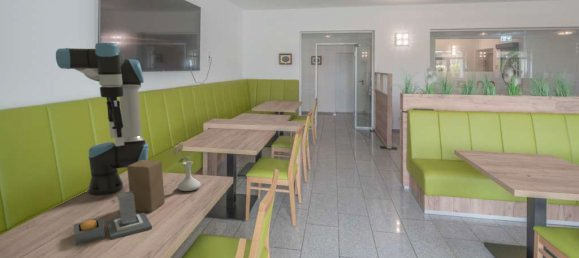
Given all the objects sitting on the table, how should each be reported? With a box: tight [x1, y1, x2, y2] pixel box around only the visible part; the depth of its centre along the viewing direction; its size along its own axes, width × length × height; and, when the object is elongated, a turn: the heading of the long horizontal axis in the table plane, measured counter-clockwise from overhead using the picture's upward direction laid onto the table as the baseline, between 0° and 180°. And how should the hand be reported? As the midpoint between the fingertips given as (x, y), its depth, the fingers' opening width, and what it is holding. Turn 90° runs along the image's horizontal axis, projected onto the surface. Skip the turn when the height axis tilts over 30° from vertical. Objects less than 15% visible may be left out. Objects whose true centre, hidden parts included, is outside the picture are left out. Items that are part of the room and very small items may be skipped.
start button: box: [80, 219, 97, 231], centre depth 121 cm, size 5×5×3 cm
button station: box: [73, 217, 106, 246], centre depth 121 cm, size 9×9×4 cm
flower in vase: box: [172, 141, 202, 192], centre depth 164 cm, size 13×11×25 cm
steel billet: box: [117, 190, 137, 227], centre depth 127 cm, size 5×5×12 cm
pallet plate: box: [106, 212, 153, 240], centre depth 128 cm, size 14×14×2 cm
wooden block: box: [126, 159, 166, 213], centre depth 144 cm, size 10×10×20 cm
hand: (117, 141), depth 127 cm, fingers open, 13 cm apart
